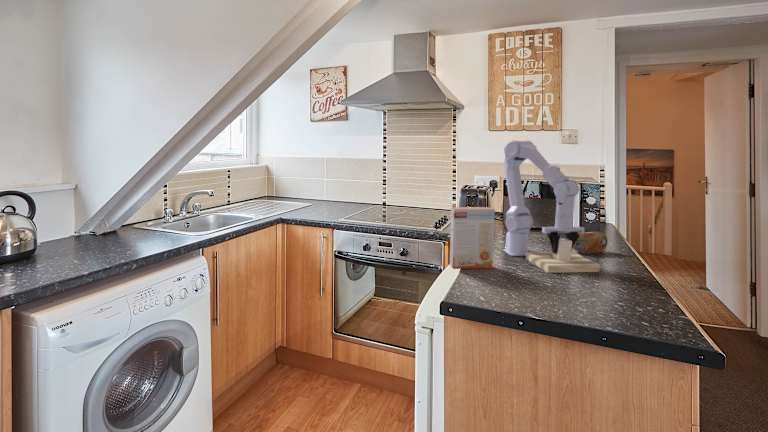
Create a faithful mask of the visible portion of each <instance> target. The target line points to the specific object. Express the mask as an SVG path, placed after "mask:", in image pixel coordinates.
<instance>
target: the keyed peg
mask: <svg viewBox="0 0 768 432" xmlns="http://www.w3.org/2000/svg"><path fill="white" fill-rule="evenodd" d="M571 249H572V250H573V248H572V241H571V240H569V239H566V237H564V238H561V237H560V239H559V242H558V251H557V254H555V253H553V258H554V259H556V260H571V252H572V251H571Z"/></svg>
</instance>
